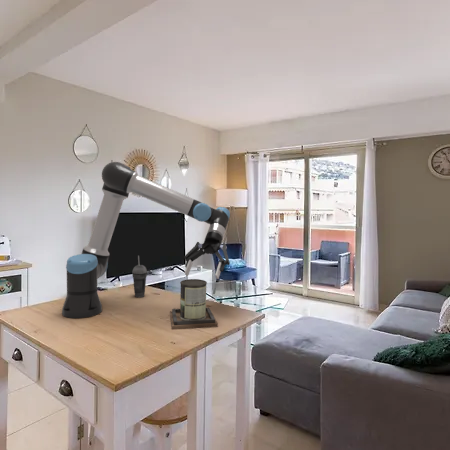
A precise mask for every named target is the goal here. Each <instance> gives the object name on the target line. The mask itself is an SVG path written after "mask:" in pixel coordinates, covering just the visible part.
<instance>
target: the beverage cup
mask: <svg viewBox="0 0 450 450" xmlns="http://www.w3.org/2000/svg"><path fill="white" fill-rule="evenodd" d="M137 260H138V262H137V263H138V264H137V265H135V266H134V267H133V269H132V272H131V274H132V278H133V290H134V292H133V293H134V297H135V298H144V297H145V293H146V282H147V276H148V270H147V267H146V266H145V265H143V264H140V255H137Z"/></svg>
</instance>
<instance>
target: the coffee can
mask: <svg viewBox="0 0 450 450" xmlns="http://www.w3.org/2000/svg"><path fill="white" fill-rule="evenodd" d="M207 284H208V282H207V281H206V280H204V279H199V278H190V279H183V280H181V281H180V307H179V309H180V318H181V319H182V320H201V319H205V318H206V308H207Z"/></svg>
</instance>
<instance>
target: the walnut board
mask: <svg viewBox="0 0 450 450" xmlns="http://www.w3.org/2000/svg"><path fill="white" fill-rule="evenodd" d="M169 316H170V325H171V330H180V329H181V330H182V329H183V330H185V329H201V328H203V329H204V328H218V327H219V324H218V322H217V319H216V318H215V315H214V314H213V312H212V310H211V308H210V307H206V318H205V319H201V320H182V319H181V318H180V308H172V309H171V311H169Z"/></svg>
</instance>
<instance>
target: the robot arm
mask: <svg viewBox="0 0 450 450" xmlns="http://www.w3.org/2000/svg"><path fill="white" fill-rule="evenodd" d="M101 171H102V172H101V179H102V182H103V185H102V188H101V191H102V193H103V197H102V200H101V203H100V206H99V209H98V212H97V213H98V214H97V216H96V219H95V221H94V226H93V227H92V232H91V235H90V238H89V241H88V244H87V245H86V246H83V248H82V252H81V254H76V255H75V254H74V255H71V256H70V257H68V259H67V261H66V265H65V269H66V297H65V299H64V303H63V306H62V309H61V310H62V311H61V314H62V316H63V317H65V318H67V319H68V318H70V319H83V318H89V317H93V316H96V315H99V314H100V313H101V312H102V311H103V304H102V302H101V299H100V297H99V294H98V279H100V278H101V277H103V276H104V274H105V273H106V272H107V270H108V267H109V265H108V264H109V259H110V252H109V246H110V243H111V241H112V236H113V234H114V232H115V227H116V225H117V221H118V218H119V216H120V211H121V209H122V206H123V203H124V200H126V199H128V198H129V195H130V193H131V194H135V195H138V196H140V197H142V198H145V199H147V200H149V201H152V202H154V203H157V204H159V205H162V206H164V207H167V208H168V209H171V210H173V211H175V212H178V213H181V214H184V215H185V216H187V217H189V218H191V219H194V220H196V221H198V222H203V223H207V224H209V227H208V229H207V232H206V235H205V238H204V241H203V242H202V243H200V242H199V241H197V242H196V243H195V245H194V246H193V247H192V248H191V249H190V250H189V251H188V252H187V253H186V254H185V255H184V256H183V259H184V261H185V262H186V263H185V266H184V267H185V270H184V274H185V276H186V277H189V275H190V272H191V269H192V267H193V262H194V261H196V260H197V259H199V258H200V257H201V256H204V255H205V254H207V255H209V254H210V255H214V254H215V255H216V257H217V259H218V260H219V261H218V265H217V268H216V272H215V278H216V280H219V279H220V276H221V272H222V273H223V272H224V269H225V267H226V266H230V265H231V262H230V259H229V256H228V252H227V251H228V247H227V243H223V244H222V242H223V239H224V236H225V232H226V229H227V227H228V224H229V221H230V218H231V213H230V210H229V209H228V208H226V207H224V206H223V207H222V206H219V207H217V208H213V207H211V206H209V204H207V203H205V202H201V201H199V200H197V199H194V198H193V197H190V196H188V195H186V194H183V193H181V192H178V191H176V190H173V189H171V188H169V187H166V186H164V185H161V184H159V183H157V182H155V181H153V180H150V179H148V178H145V177H144V176H141V175H139V174H138V172H137V171H135V170H133V169H132V168H130V167H129V166H128V165H125V164H124V163H122V162H119V161H111V162H109V163H107V164H106V165H104V167H103V168H102V170H101ZM219 250H222V251H223V255H224V258H225V259H223V256H222V255H221V253H220V252H219Z"/></svg>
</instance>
